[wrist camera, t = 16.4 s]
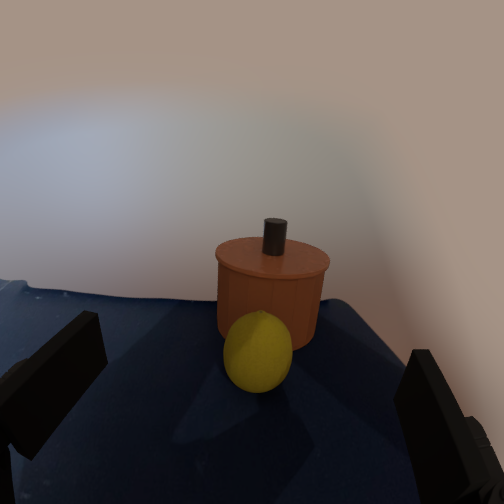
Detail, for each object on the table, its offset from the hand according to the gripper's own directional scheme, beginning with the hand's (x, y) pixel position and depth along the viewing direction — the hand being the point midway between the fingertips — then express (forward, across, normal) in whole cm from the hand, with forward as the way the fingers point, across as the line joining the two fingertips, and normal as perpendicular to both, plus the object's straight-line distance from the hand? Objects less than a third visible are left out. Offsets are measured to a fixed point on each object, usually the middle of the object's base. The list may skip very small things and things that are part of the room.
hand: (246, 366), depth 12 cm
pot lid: (+22, 0, -3) cm, 23 cm away
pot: (+22, 0, -12) cm, 25 cm away
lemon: (+11, 0, -12) cm, 16 cm away
